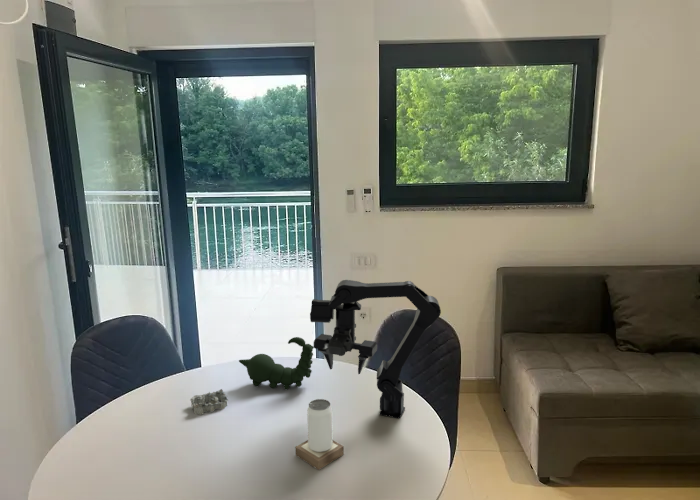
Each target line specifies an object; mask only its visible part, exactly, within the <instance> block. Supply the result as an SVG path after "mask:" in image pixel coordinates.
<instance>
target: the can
mask: <svg viewBox="0 0 700 500" xmlns="http://www.w3.org/2000/svg"><path fill="white" fill-rule="evenodd" d="M306 415H307V440H308V446H309V448H310V449H311V450H312V451H315V452H325V451H327V450H329V449H330V448H331V447H332V445H333V440H334V439H333V436H334V435H333V408H332V406H331V402H330V401H329V400H327V399H323V398H317V399H314V400H313V399H312V400H311V401H310V402H308V407H307V414H306Z"/></svg>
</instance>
